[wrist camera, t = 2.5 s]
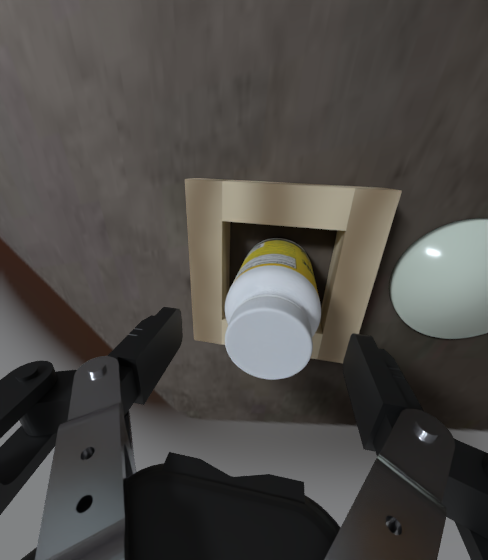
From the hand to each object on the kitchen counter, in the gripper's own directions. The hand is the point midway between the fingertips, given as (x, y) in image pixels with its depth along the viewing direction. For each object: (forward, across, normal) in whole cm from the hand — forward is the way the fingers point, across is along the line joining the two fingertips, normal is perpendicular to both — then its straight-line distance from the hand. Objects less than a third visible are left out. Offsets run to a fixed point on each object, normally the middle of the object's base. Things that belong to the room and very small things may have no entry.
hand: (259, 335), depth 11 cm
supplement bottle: (+9, 0, 0) cm, 9 cm away
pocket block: (+9, 0, 0) cm, 9 cm away
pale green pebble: (+9, -14, 0) cm, 16 cm away
